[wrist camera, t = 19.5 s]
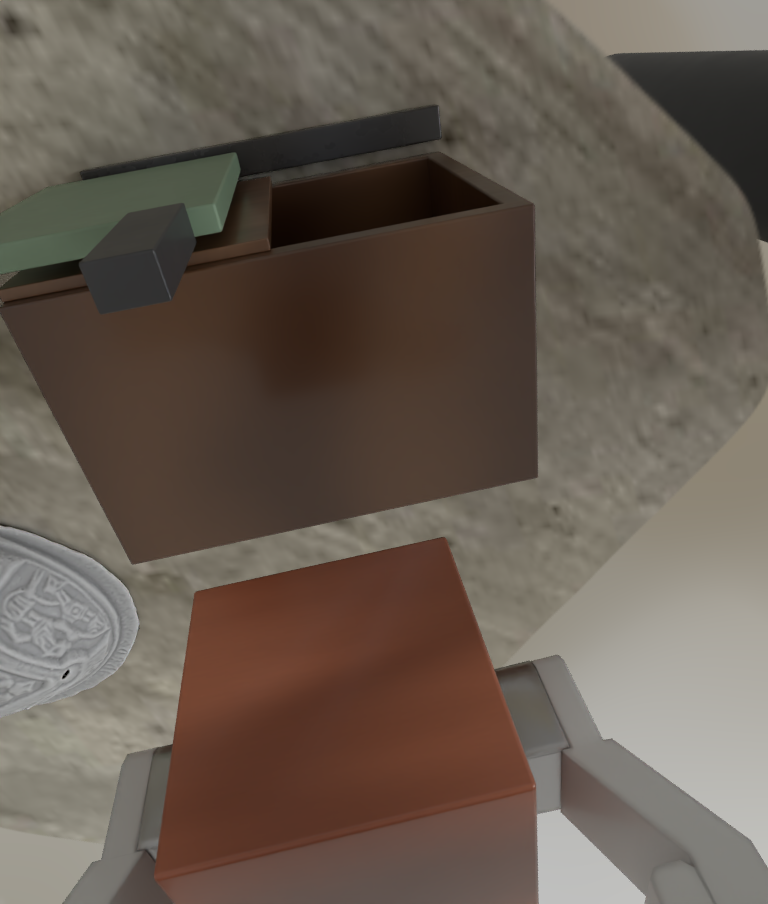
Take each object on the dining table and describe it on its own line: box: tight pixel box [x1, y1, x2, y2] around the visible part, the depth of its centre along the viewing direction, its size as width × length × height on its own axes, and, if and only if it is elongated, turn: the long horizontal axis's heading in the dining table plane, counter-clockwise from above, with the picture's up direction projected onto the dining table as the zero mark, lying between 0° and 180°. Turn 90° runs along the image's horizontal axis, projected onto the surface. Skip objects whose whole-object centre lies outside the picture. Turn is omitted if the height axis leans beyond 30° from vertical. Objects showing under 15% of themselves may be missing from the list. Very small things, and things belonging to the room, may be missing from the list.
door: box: [0, 152, 241, 315], centre depth 17 cm, size 7×1×14 cm, turn 99°
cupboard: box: [0, 105, 538, 564], centre depth 22 cm, size 14×11×11 cm
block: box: [154, 537, 539, 904], centre depth 10 cm, size 5×5×5 cm
